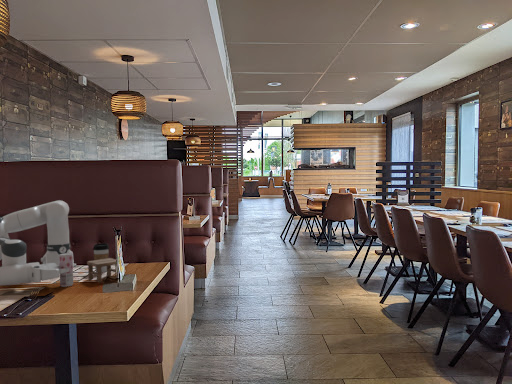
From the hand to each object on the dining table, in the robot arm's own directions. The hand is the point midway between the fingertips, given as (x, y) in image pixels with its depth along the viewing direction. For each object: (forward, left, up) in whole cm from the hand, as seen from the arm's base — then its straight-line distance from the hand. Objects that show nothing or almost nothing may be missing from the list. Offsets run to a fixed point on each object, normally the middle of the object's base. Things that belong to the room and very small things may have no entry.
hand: (68, 268), depth 189 cm
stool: (+1, +17, -8) cm, 19 cm away
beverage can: (0, -1, -8) cm, 8 cm away
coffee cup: (-17, +24, -8) cm, 31 cm away
